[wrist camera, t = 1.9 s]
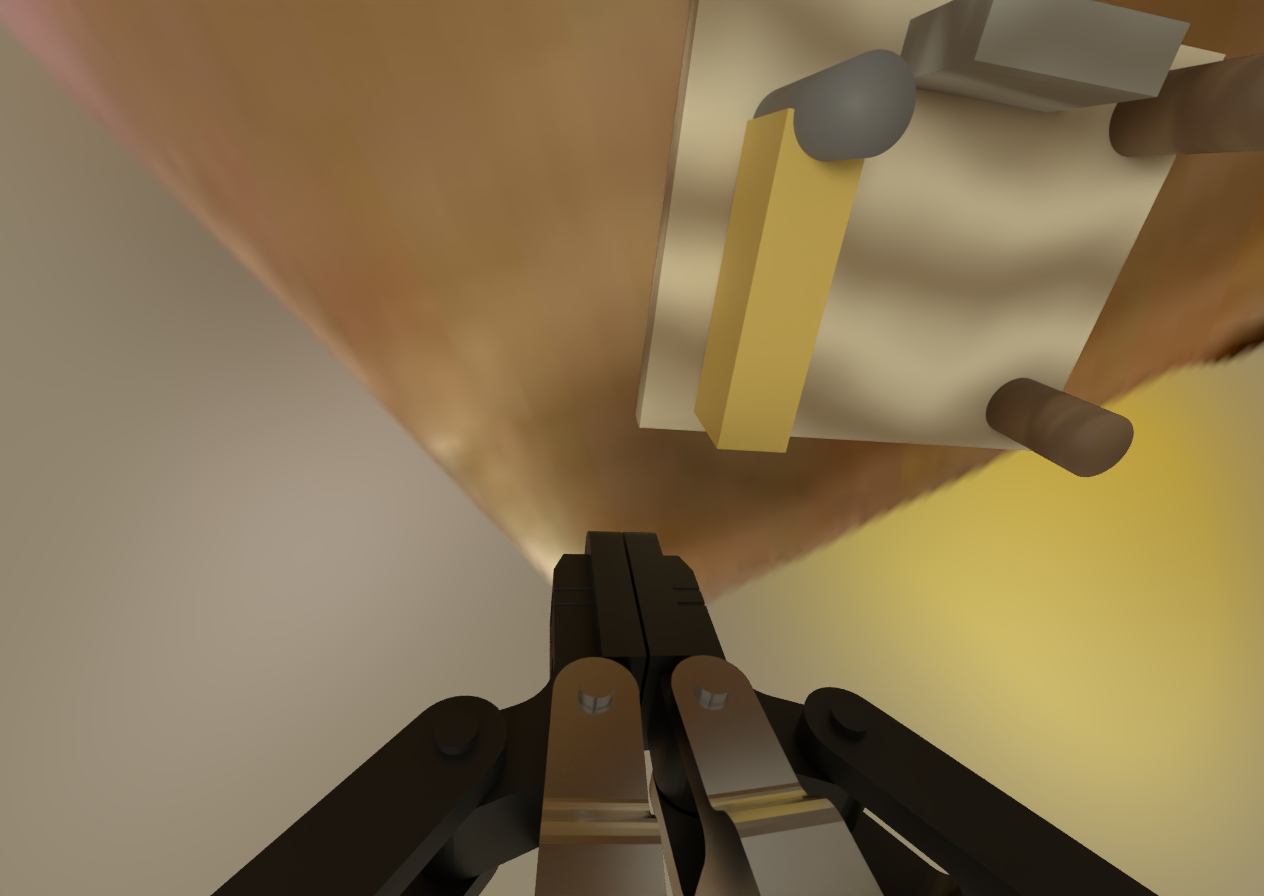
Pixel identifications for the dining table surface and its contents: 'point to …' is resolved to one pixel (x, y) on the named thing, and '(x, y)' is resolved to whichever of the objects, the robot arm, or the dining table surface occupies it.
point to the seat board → (948, 208)
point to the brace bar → (791, 240)
